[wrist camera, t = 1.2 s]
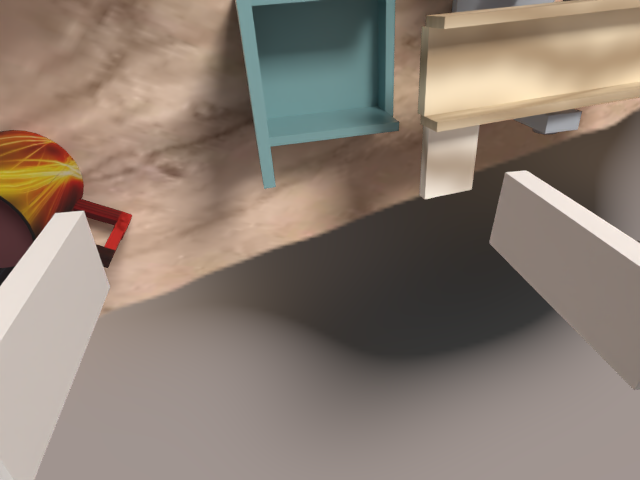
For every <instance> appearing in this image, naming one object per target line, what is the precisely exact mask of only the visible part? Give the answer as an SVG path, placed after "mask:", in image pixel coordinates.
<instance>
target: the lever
mask: <svg viewBox="0 0 640 480" xmlns="http://www.w3.org/2000/svg"><path fill="white" fill-rule="evenodd" d="M639 97H640V0H563V1H562V2H552V3H542V4H532V5H523V6H513V7H503V8H494V9H484V10H474V11H465V12H455V13H445V14H435V15H426V26H422V35H421V56H420V78H419V99H418V114H420V115H421V124H422V125H423V140H422V158H421V176H420V194H419V195H420V196H421V197H422V198H424V199H428V198H433V197H438V196H443V195H448V194H452V193H457V192H462V191H467V190H471V189H472V183H473V175H474V167H475V159H476V150H477V142H478V134H479V126H480V125H481V124H487V123H493V122H499V121H505V120H511V119H516V118H522V117H528V116H534V115H540V114H546V113H551V112H557V111H563V110H569V109H575V108H581V107H587V106H592V105H598V104H604V103H610V102H616V101H622V100H627V99H633V98H639Z"/></svg>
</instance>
